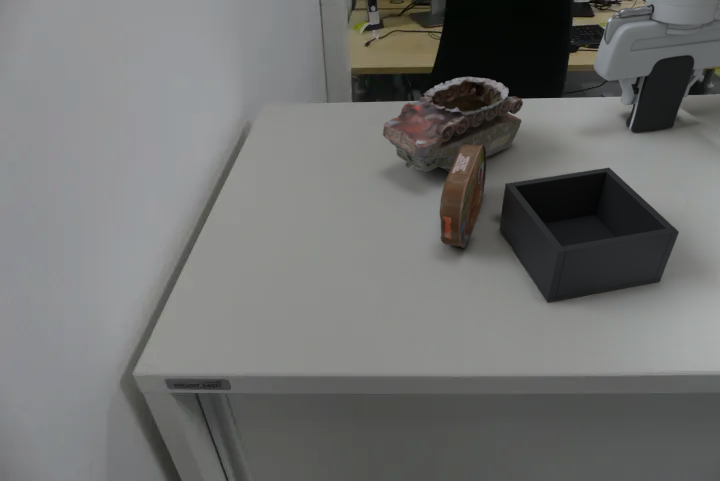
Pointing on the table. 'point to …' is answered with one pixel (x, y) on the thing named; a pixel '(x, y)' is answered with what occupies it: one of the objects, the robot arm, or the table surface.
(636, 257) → the open box
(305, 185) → the table surface
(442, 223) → the tin
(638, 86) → the battery charger
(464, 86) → the decorative box
